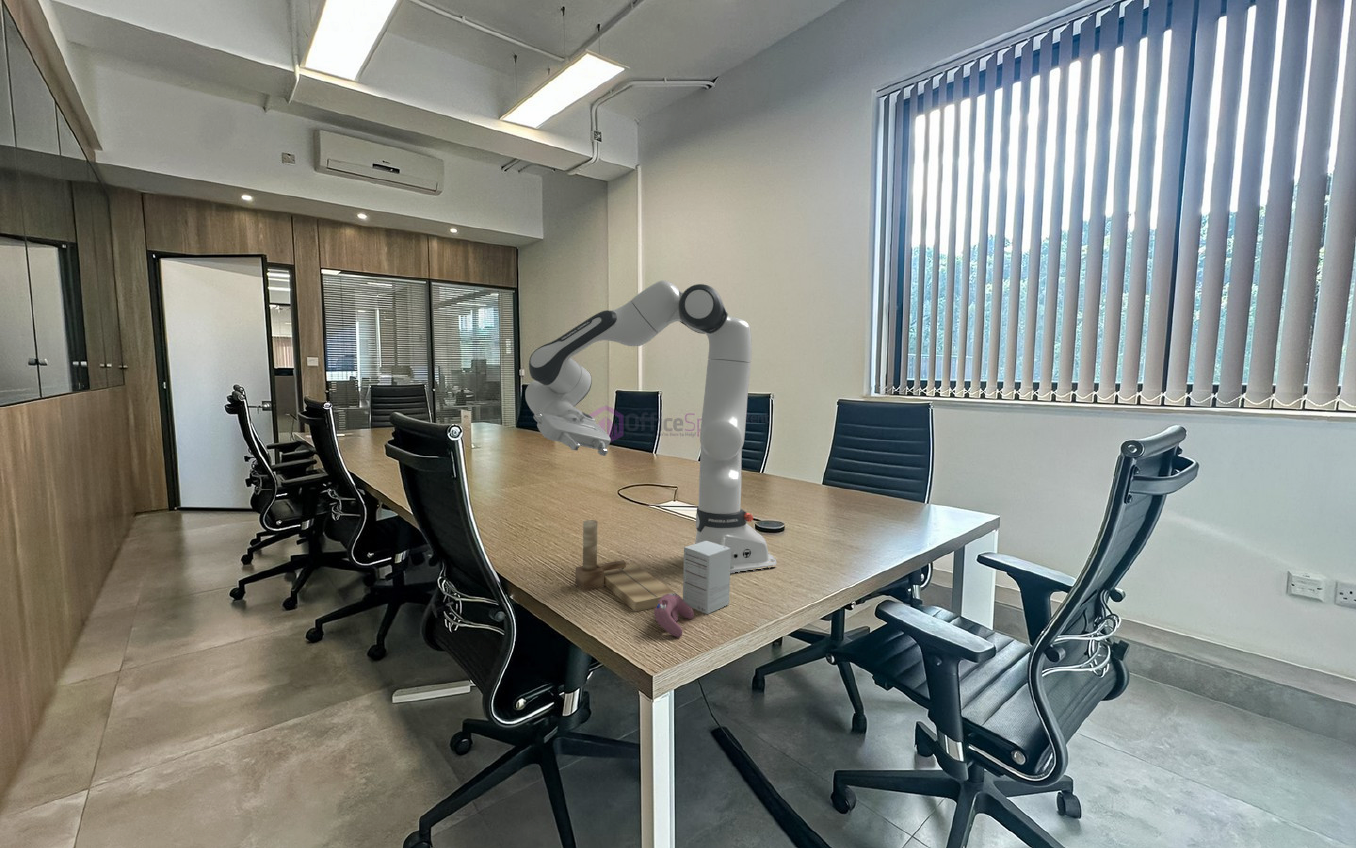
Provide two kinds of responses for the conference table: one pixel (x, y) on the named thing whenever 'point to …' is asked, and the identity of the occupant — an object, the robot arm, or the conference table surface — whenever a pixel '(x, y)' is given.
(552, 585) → the conference table surface
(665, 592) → the board
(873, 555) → the conference table surface
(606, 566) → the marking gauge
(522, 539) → the conference table surface
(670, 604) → the video game controller
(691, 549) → the supplement box
